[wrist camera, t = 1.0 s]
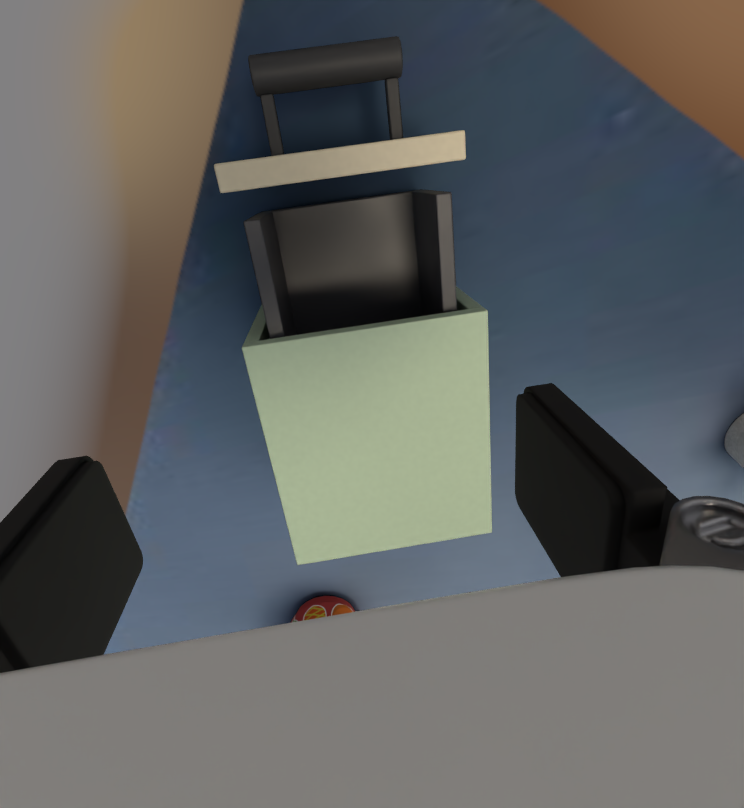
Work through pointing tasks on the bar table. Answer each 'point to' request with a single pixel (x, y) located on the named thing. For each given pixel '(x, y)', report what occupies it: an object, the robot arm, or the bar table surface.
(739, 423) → the house plant
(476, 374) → the pale green box
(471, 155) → the bar table surface
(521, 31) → the bar table surface
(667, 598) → the robot arm
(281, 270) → the drawer
